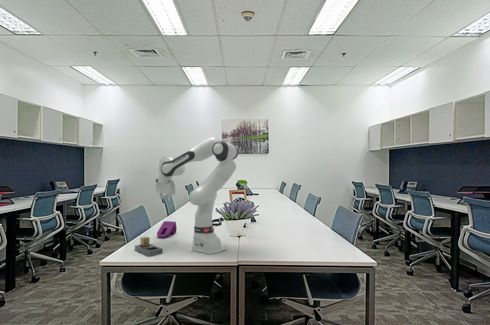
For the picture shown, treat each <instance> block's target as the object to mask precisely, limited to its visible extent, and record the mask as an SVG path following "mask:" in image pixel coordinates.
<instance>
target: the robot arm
mask: <svg viewBox="0 0 490 325" xmlns="http://www.w3.org/2000/svg"><path fill="white" fill-rule="evenodd" d="M212 156H214V157H215V159H216V161H218V165H217V166H216V167H215V168H214V169H213V171H212V172H211V173H210V174H209V175H208V176H207V178H205V179H204V180H203V181H202V182H201V183H200V184H199V185H198V186H197V187H196V188H194V189H193V190H192V191H191V192H190V193H189V195H188V196H189V197H188V198H189V202H190V203H191V205H193V206H197V209H196V211H195V213H194V227H193V233H194V232H195V234H193V236H192V247H191V248H190V250H191V251H193V252H198V253H203V254H207V255H211V254H217V253H221V252H224V251H225V250H226V248H225V247H223V246H222V241H221V238H220V237H219V236H217V234H216V233H215V227H214V226H213V210H214V206H215V201H216V199H217V197H218V196H217V195H218V193H217V192H218V191H220V190H221V189H222V188H223V187H224V185H226V183H227V182H228V181H229V180H230V178H232V176H233V174H234V172H235V171H236V169H237V164H236V162H235V161H234V160H235V159H237V157H238V156H239V149H238V147H237V146H236V145H234V144H231V143H230V142H228V141H223V140H220V139H219V138H217V137H215V136H212V137H209V138H207V139H205V140H203V141H201V142H200V143H198V144H197V145H195V146H194V147H193V148H190V149H189V150H187V151H185V152H184V153H183V154H181V155H179V156H177V157H175V158H172V157H171V156H164V157H161V158H160V159H159V163H158V172H159V174H158V178H156V179H155V192H156V193H158V194H159V198H160V200H164V198H165V197H164V196H163V195H165V194H166V195H167V198H166V199H167V201H168V202H169V201H171V198H172V196H173V195H175V194H176V185H175V182H174V181H173V177H175V176H181V175H183V174H184V172H185V170H186V168H185V165H186V164H188V163H189V164H190V163H193V162H202V161H205V160H208V159H209V158H211V157H212Z"/></svg>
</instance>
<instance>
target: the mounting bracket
mask: <svg viewBox="0 0 490 325" xmlns="http://www.w3.org/2000/svg"><path fill="white" fill-rule="evenodd" d="M177 229H178V228H177V223H176V221H168V220H164V221H163V222H162V224H161V225H160V227H159V228H158V230H157V231H156V236H157V238H158V239H167V238H168V237H170V236H171V235H172V236H174V235H176V234H177Z"/></svg>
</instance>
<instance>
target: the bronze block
mask: <svg viewBox="0 0 490 325" xmlns="http://www.w3.org/2000/svg"><path fill="white" fill-rule="evenodd" d="M139 243H140V244H139V245H140V246H141V247H147V246H149V243H150V237H148V236H143V237H140V242H139Z"/></svg>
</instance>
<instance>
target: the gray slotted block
mask: <svg viewBox="0 0 490 325" xmlns="http://www.w3.org/2000/svg"><path fill="white" fill-rule="evenodd" d="M163 250H164V249H163V248H162V247H160V246H157V245H154V244H151V243H150V242H149V246H147V247H141V246H140V244H136V245H134V251H135V252H137V253H140V254H142V255H144V256H147V257H153V256H158V255H163V254H162V253H163Z"/></svg>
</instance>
